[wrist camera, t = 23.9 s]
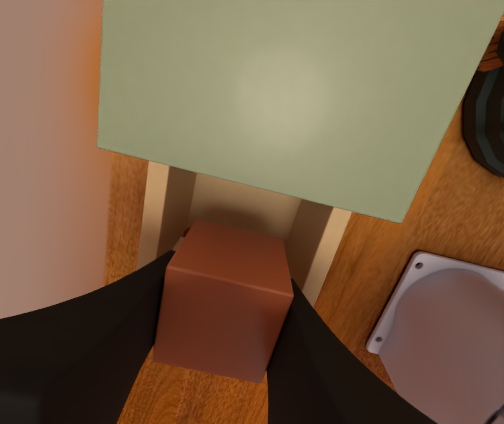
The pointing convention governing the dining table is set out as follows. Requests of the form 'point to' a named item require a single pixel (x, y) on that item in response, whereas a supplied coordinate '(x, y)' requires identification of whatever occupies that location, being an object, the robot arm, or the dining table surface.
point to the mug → (487, 107)
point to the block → (223, 302)
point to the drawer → (240, 220)
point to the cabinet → (292, 91)
